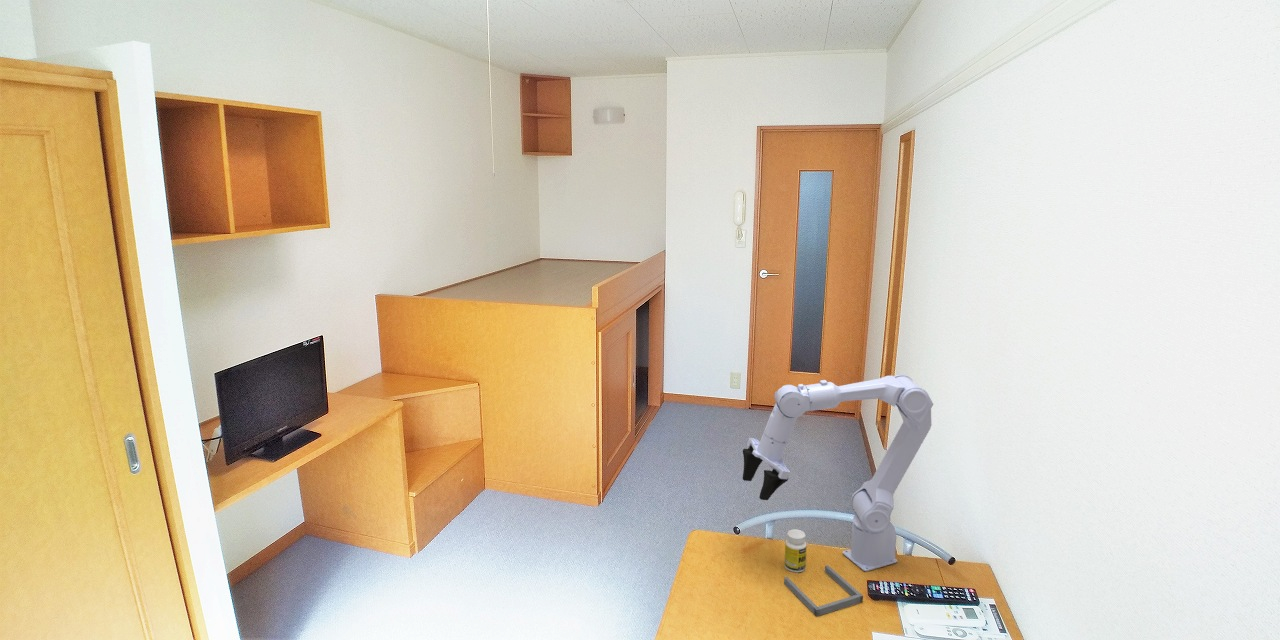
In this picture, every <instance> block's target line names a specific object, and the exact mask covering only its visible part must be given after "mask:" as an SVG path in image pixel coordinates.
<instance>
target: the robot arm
mask: <svg viewBox="0 0 1280 640" xmlns="http://www.w3.org/2000/svg"><path fill="white" fill-rule="evenodd" d="M876 399H878V400H880V401H882V402H884V403H886V404H889V405H890V406H893V407H897V410H898V412H899V414H900V416H901V418H902V423H901V425H900V427H899V429H898V430H897V432H896V434H895V436H894V438H893V440H892V442H891V443H890V445H889V447H888V449H887V451H886V452H885V454H884V456H883V457H882V459H881V462H880V463H879V465H878V467H877V469H876V470H875V472H874V474H873V476H872V478H871V479H870V480H867V481H864V482H863V484H862V485H861V487H860V488H859V489H857V490H856V491H855V492H853V493H852V495H851V498H850V504H851V505H850V506H851V507H852V509H853V510H855V511H854V516H853V517H852V527H851V528H852V529H851V541H850V542H851V543H850V544H851V545H850V548H849V549H846V550H843V551H842V555H844V556H845V557H846V558H847V559H848V560H849V561H851V562H853V564H855V565H856V566H857V567H858V568H859V569H861V570H862V571H863V572H869V571H872V570H876V569H879V568H882V567H886V566H889V565H892V564H896V563H898V559H897V558H896V548H897V531H896V528H895V526H894V525H893V523H892V522H891V515H892V513H893V510H894V506H895V505H894V494H895V492H896V490H897V489H898V486H900V483H901V482H902V480H903V478H904V476H905V474H906V473H907V471H908V469H909V467H910V466H911V464H912V462H913V461H914V458H915V457H916V455H917V453H918V452H919V450H920V448H921V446H922V444H923V443H924V440H926V437H927V435H928V433H929V432H930V430H931V427H932V407H933V406H934V403H933V400H932V398H931V396H930V395H929V393H928V392H927V391H926V389H923V388H922V387H921V386H920V385H919V384H917V383H916V382H915V381H914V380H913V379H912V378H911V377H910V376H909V375H906V374H896V375H886V376H882V377H879V378H875V379H871V380H864V381H857V382H854V383H848V384H844V385H843V384H842V385H836V384H835V383H834V382H832V381H827V380H826V379H822V380H819V383H813V384H812V383H811V384H806V385H804V383H799V384H797V386H796V385H794V384H784V385H782V386H781V387H779V389H777V391H775V392H774V401H775V403H774V406H773V408H772V411H771V413H770V415H769V418H768V420H767V423H766V426H765V428H764V430H763V433H762V436H761V438H760V440H758V439H757V438H753V437H749V438H748V440H747V443H746V446H747V447H748V448H743V450H742V454H743V470H742V472H743V473H742V481H745V482H752V481H753V479H754V477H755V475H756V473H757V470H758V468H759V466H761V464H762V463H763V462H765V463H766V464H767V465H768V466H769V467H770V468H771V469H772V470H770V469H769V470H768V469H764V470H763V483H762V487H761V490H760V493H759V500H762V501H768V500H769V499H771V497H772V496H773V494H774V493H775V492H776V491H777V489H779V488H780V487H781V486H782V485H783V484H785V483H786V482H788V480H789V476H790V474H791V471H790V470H789V469H788V468H787V466H786V463H785V461H784V460H783V455H784V453H785V452H786V448H787V446H788V443H789V441H790V438H791V435H792V434H793V431H794V428H795V426H796V423H797V420H798V418H799V417H801V416H803V415H804V414H805V413H806V412H814V411H822V410H828V409H829V410H830V409H835V408H837V407H838V406H839V405H840V403H841V402H850V401H864V400H876ZM849 550H851V551H849Z"/></svg>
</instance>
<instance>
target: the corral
mask: <svg viewBox="0 0 1280 640" xmlns="http://www.w3.org/2000/svg"><path fill="white" fill-rule="evenodd" d="M824 573H826V574H827V575H828V576H829V577H830V578H831V579H832V580H834V582H836V583H837V584H838V586H840V587H841V588H842V589H843V590H844V591H845V592H847V593H848V594H849V595H850V596H848V597H845V598H841V599H839V600H835V601H832V602H829V603H826V604H822V605H817V604H816V603H814V602H813V600H811V598H810V597H809V596H807V594H805V593H804V592H803V591H802V590H801V589H800V587H798V586H797V585H796V584H795V583H794V582H793V581H792V580H791V579H790V578H789V577H788V576H785V577H783V584H784V586H786V587H787V589H789V591H791V592H792V594H793V595H794V596H795V597H796V598H797V599H798V600H799V601H800V602H801V603H803V605H804V606H805V607H806V608H807V609H808V610H809V611H810V612H811V613H812V614H813V615H814V616H815V617H816V618H817V617H820V616H822V615H827V614H829V613H832V612H836V611H839V610H842V609H846V608H848V607H851V606H854V605H858V604H861V603H863V601H864V596H863V594H862V593H861V592H859V590H857V589H856V588H855V587H853V585H851V584H850V583H849V582H848V581H847V580H846V579H844V577H842V575H840V573H838V572H836V571H835V570H834V568H832V567H830V566H829V564H826V565H824Z"/></svg>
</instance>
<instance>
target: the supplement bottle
mask: <svg viewBox="0 0 1280 640" xmlns="http://www.w3.org/2000/svg"><path fill="white" fill-rule="evenodd" d="M784 542H785V543H784V546H785V547H784V564H783V565H784V568H785V569H786V570H788V571H789V572H791V573H802V572H804V571H805V570H806V566H807V564H806V563H807V546H808V545H807V542H806V533H805V532H804V531H803V530H800V529H796V528H795V529H794V528H793V529H790V530H788V531H787V533H786V540H785V541H784Z"/></svg>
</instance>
